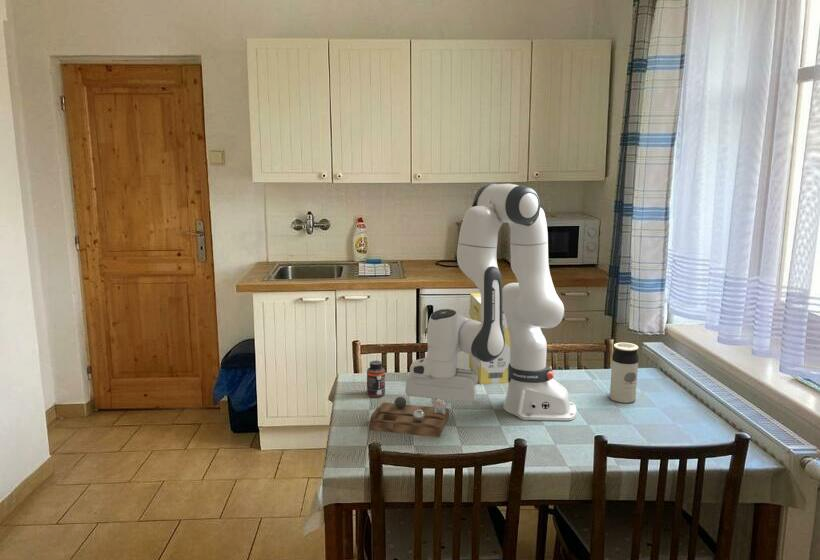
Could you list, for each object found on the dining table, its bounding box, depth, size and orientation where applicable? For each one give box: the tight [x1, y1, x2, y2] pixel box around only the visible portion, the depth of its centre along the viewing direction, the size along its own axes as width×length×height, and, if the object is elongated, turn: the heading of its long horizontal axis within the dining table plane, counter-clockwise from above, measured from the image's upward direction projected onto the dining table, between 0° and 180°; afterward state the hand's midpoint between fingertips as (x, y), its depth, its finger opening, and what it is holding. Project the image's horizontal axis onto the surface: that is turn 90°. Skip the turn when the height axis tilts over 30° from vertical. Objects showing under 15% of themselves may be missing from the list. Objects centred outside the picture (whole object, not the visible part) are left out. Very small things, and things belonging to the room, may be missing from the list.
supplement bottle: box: [366, 360, 386, 398], centre depth 215 cm, size 6×6×11 cm
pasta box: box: [468, 292, 510, 385], centre depth 232 cm, size 18×10×28 cm, turn 8°
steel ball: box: [413, 409, 425, 421], centre depth 189 cm, size 4×4×4 cm
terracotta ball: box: [432, 400, 445, 411], centre depth 196 cm, size 4×4×4 cm
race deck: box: [368, 402, 450, 438], centre depth 194 cm, size 21×15×4 cm
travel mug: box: [609, 342, 640, 404], centre depth 211 cm, size 8×8×18 cm
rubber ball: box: [394, 396, 407, 408], centre depth 199 cm, size 4×4×4 cm
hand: (440, 412), depth 187 cm, fingers closed
